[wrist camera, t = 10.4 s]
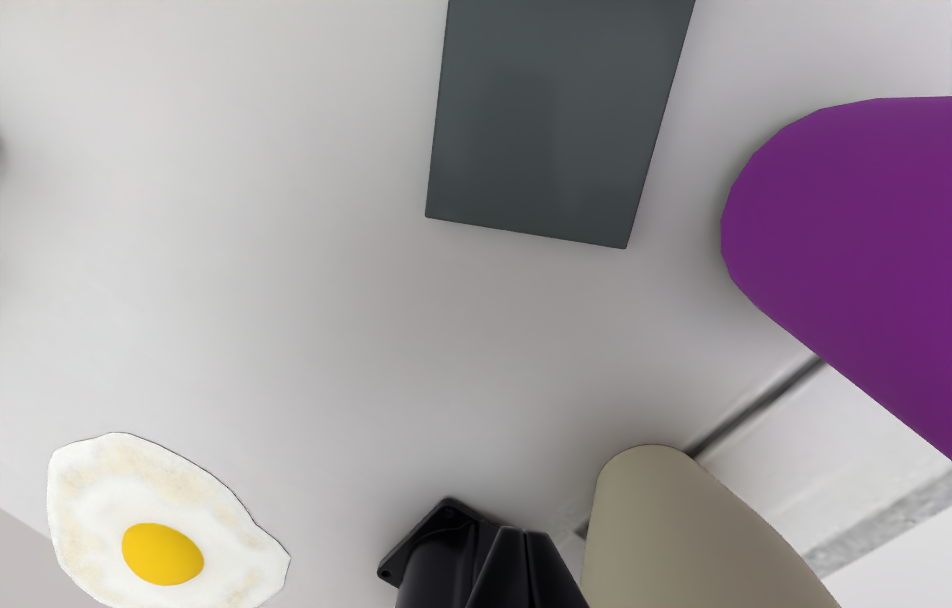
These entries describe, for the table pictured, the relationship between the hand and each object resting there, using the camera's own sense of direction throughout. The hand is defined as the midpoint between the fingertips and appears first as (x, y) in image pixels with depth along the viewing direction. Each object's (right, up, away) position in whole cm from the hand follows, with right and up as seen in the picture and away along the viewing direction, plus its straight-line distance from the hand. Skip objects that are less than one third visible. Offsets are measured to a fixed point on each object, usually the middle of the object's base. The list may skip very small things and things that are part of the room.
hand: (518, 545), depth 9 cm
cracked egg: (-17, -8, +17) cm, 26 cm away
